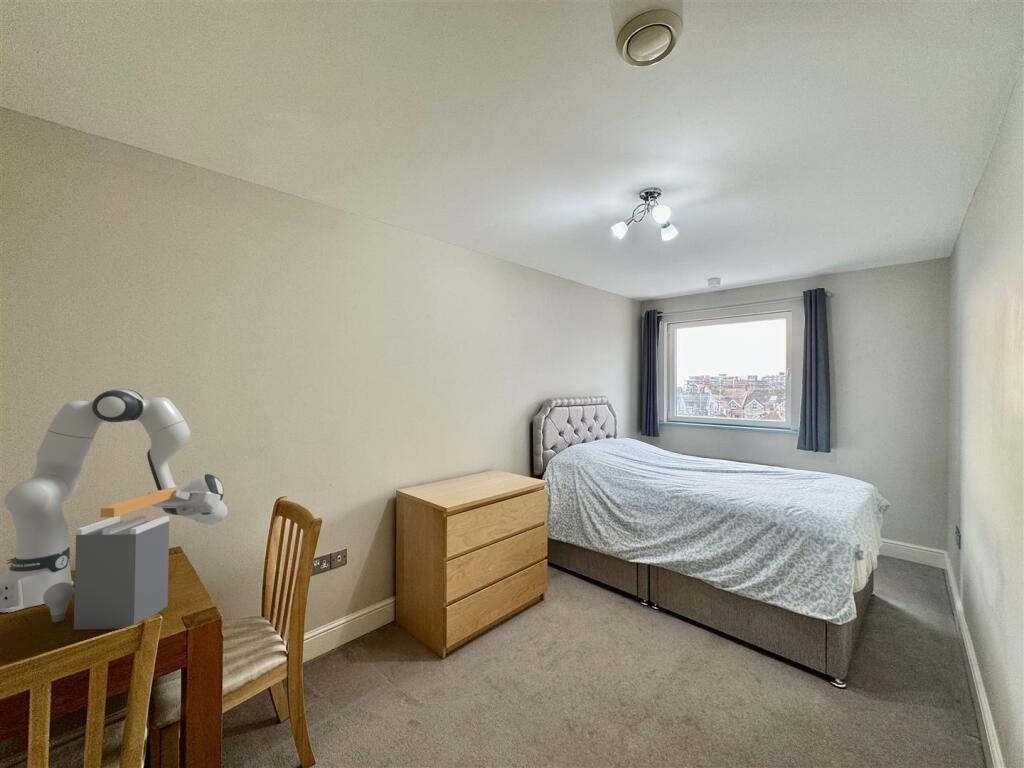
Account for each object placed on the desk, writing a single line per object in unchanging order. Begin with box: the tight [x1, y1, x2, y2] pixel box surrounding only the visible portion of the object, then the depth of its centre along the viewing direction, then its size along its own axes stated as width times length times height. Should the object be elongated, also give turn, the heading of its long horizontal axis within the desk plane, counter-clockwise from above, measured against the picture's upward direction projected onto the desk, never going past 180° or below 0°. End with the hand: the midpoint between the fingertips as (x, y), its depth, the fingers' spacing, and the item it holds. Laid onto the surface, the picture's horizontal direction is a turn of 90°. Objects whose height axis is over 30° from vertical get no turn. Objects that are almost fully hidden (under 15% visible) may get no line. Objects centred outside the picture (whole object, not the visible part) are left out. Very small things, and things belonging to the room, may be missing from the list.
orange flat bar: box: [99, 488, 181, 518], centre depth 124 cm, size 4×24×2 cm, turn 3°
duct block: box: [73, 515, 170, 630], centre depth 122 cm, size 16×12×28 cm
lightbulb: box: [43, 582, 75, 623], centre depth 119 cm, size 6×6×11 cm
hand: (166, 492), depth 133 cm, fingers closed on orange flat bar, 3 cm apart
